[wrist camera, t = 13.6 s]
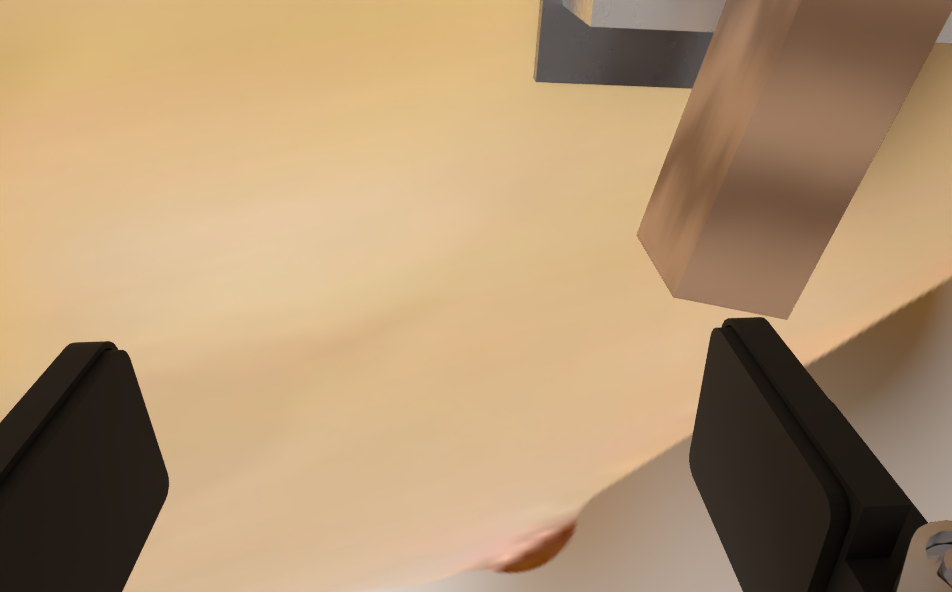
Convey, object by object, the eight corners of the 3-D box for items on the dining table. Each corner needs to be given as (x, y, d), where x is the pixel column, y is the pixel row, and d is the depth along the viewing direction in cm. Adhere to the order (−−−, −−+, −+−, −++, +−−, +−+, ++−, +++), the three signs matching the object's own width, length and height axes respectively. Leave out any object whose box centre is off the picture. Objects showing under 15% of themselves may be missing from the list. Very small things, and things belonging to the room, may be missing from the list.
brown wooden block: (869, -375, 22) (1002, -466, 17) (1002, -326, 23) (1169, -397, 18) (636, 235, 32) (673, 297, 27) (733, 255, 33) (787, 319, 28)
